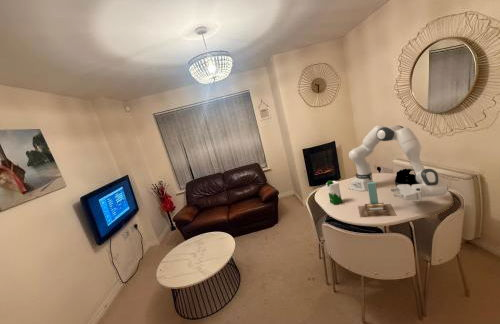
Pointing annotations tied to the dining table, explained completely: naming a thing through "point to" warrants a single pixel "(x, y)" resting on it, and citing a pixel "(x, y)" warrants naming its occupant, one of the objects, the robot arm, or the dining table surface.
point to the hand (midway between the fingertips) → (392, 192)
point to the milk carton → (334, 192)
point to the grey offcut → (376, 209)
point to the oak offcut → (375, 206)
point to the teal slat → (372, 193)
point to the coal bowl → (405, 177)
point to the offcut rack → (386, 211)
